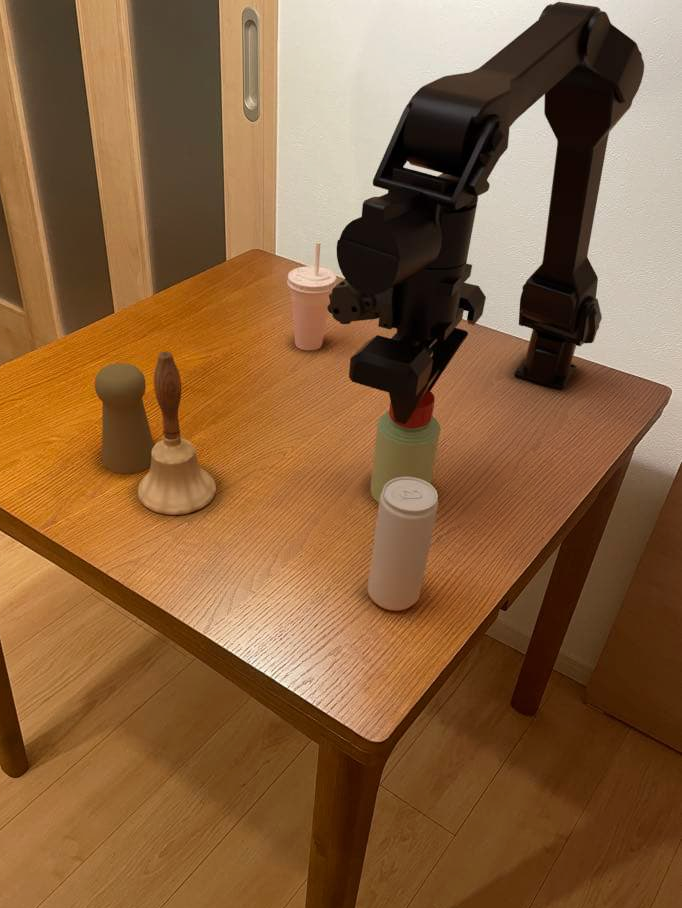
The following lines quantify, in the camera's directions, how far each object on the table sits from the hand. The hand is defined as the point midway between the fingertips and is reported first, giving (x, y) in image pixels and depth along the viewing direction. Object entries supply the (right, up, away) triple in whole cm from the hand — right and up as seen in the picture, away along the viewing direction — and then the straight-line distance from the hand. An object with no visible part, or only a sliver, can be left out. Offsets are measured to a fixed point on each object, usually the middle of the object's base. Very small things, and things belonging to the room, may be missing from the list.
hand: (409, 411), depth 78 cm
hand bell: (-24, -8, +6) cm, 26 cm away
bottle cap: (0, +1, -1) cm, 1 cm away
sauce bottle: (0, -7, +7) cm, 10 cm away
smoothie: (-9, +14, +31) cm, 35 cm away
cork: (-29, -4, +11) cm, 32 cm away
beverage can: (-2, -18, -4) cm, 18 cm away
